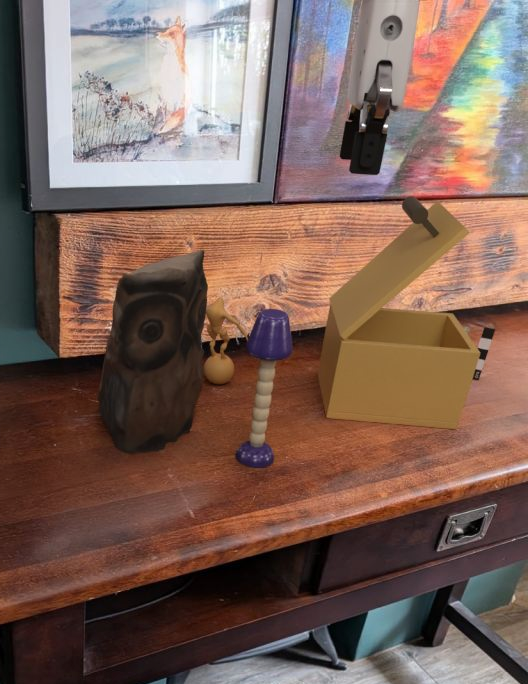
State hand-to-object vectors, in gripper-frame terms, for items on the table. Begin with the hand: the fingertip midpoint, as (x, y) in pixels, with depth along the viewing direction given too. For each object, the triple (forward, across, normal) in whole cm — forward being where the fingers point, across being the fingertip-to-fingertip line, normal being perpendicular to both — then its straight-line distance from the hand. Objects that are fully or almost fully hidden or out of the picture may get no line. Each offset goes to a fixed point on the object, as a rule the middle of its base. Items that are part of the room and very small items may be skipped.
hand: (358, 166), depth 84 cm
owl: (+27, -15, +22) cm, 38 cm away
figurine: (+27, -2, +14) cm, 31 cm away
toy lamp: (+27, -21, +9) cm, 36 cm away
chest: (+27, -2, -8) cm, 28 cm away
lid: (+11, -2, -6) cm, 13 cm away
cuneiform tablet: (+27, +12, -18) cm, 35 cm away
